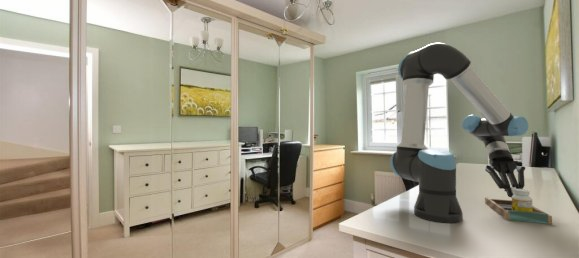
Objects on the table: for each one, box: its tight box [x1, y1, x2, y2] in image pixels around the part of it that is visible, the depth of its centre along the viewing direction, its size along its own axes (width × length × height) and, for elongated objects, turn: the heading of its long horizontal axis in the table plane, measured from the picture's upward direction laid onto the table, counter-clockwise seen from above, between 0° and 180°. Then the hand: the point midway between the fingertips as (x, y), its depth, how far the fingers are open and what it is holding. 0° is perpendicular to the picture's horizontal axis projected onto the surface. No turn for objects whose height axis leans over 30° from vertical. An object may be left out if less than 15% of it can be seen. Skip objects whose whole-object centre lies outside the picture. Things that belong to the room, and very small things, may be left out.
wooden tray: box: [484, 196, 553, 225], centre depth 96 cm, size 22×12×3 cm, turn 158°
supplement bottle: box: [511, 188, 533, 212], centre depth 90 cm, size 5×5×10 cm
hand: (518, 204), depth 93 cm, fingers closed
